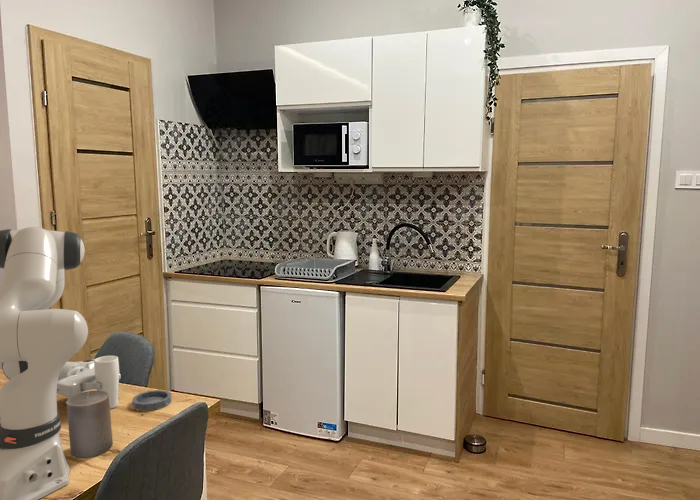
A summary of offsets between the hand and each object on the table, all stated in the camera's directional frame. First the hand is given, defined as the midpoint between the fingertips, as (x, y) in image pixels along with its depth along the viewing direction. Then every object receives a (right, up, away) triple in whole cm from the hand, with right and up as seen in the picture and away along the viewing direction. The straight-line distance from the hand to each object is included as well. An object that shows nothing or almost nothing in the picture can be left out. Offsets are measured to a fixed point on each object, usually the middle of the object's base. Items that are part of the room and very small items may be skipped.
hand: (109, 381), depth 160 cm
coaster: (+12, -8, +4) cm, 14 cm away
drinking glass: (-1, -8, +1) cm, 8 cm away
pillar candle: (+7, -11, -25) cm, 28 cm away
